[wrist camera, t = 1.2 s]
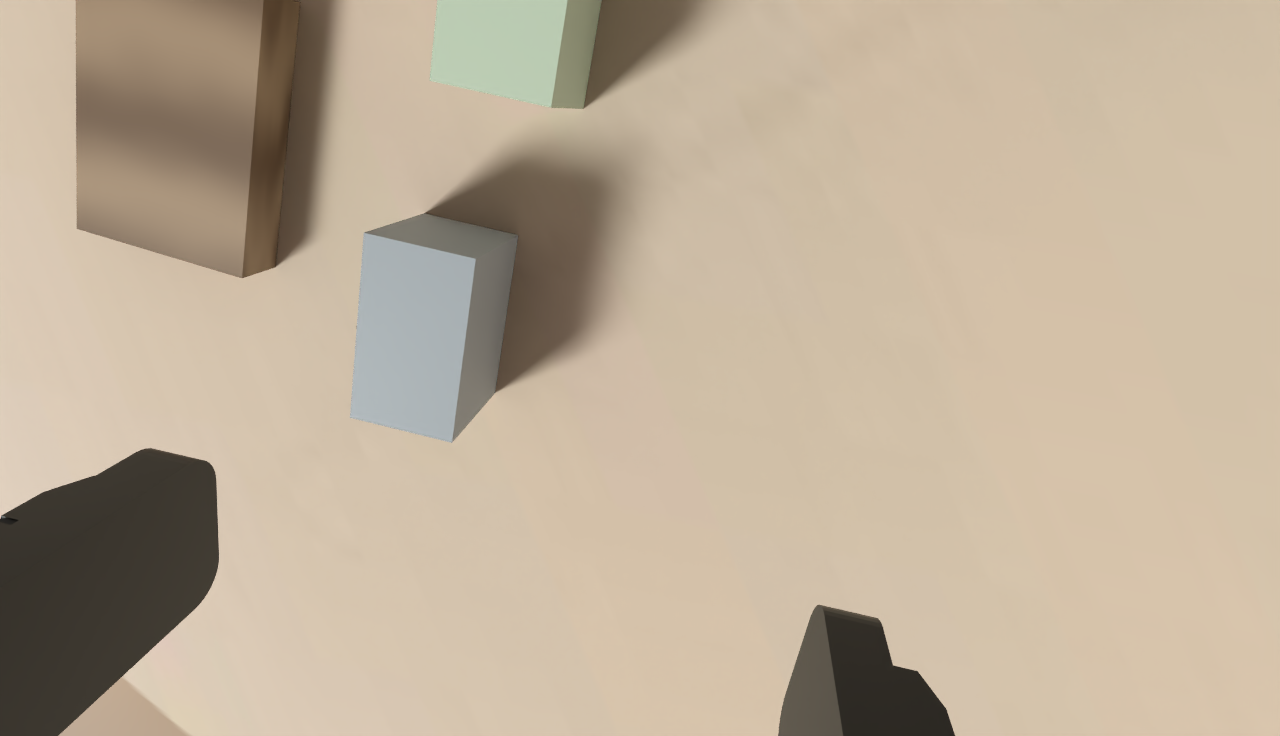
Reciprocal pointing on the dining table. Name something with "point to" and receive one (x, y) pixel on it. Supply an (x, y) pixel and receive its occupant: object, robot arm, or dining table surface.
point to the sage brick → (517, 48)
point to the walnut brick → (185, 126)
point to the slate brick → (430, 323)
